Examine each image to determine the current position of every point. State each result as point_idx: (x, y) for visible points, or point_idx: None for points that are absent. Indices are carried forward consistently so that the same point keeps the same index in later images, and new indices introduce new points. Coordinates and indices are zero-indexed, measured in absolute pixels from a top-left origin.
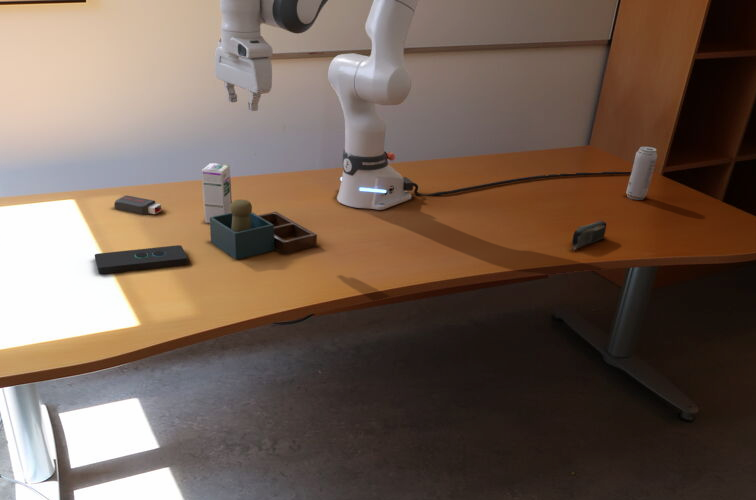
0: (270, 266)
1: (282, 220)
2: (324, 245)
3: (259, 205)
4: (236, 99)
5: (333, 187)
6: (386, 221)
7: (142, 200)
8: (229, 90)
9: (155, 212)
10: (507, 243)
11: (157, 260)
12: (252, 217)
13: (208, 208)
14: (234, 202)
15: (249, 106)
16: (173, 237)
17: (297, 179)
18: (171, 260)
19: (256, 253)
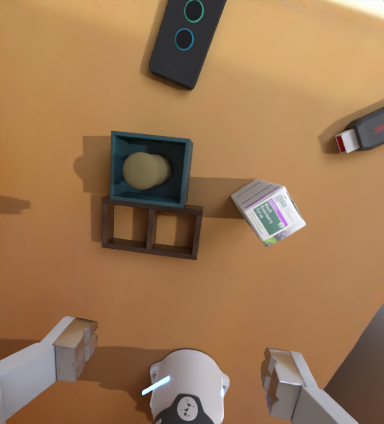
0: (89, 159)
1: (173, 250)
2: (105, 249)
3: (258, 275)
4: (262, 381)
5: (245, 381)
6: (122, 346)
7: (380, 132)
8: (320, 420)
9: (336, 137)
10: None
11: (165, 23)
12: (164, 201)
13: (254, 184)
14: (141, 159)
15: (74, 329)
16: (241, 110)
17: None
18: (155, 44)
19: None
